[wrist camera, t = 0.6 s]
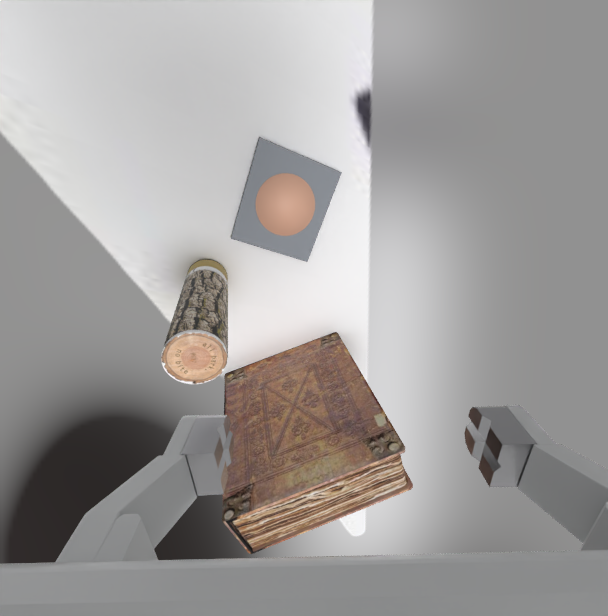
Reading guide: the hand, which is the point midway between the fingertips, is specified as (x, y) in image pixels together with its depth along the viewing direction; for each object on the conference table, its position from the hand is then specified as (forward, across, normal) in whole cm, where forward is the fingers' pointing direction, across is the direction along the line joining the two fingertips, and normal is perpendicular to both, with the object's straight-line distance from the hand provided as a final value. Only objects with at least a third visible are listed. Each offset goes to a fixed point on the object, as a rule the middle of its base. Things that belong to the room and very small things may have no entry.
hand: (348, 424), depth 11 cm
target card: (+47, +5, -2) cm, 48 cm away
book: (+49, +6, +33) cm, 59 cm away
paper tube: (+45, +19, +10) cm, 50 cm away
